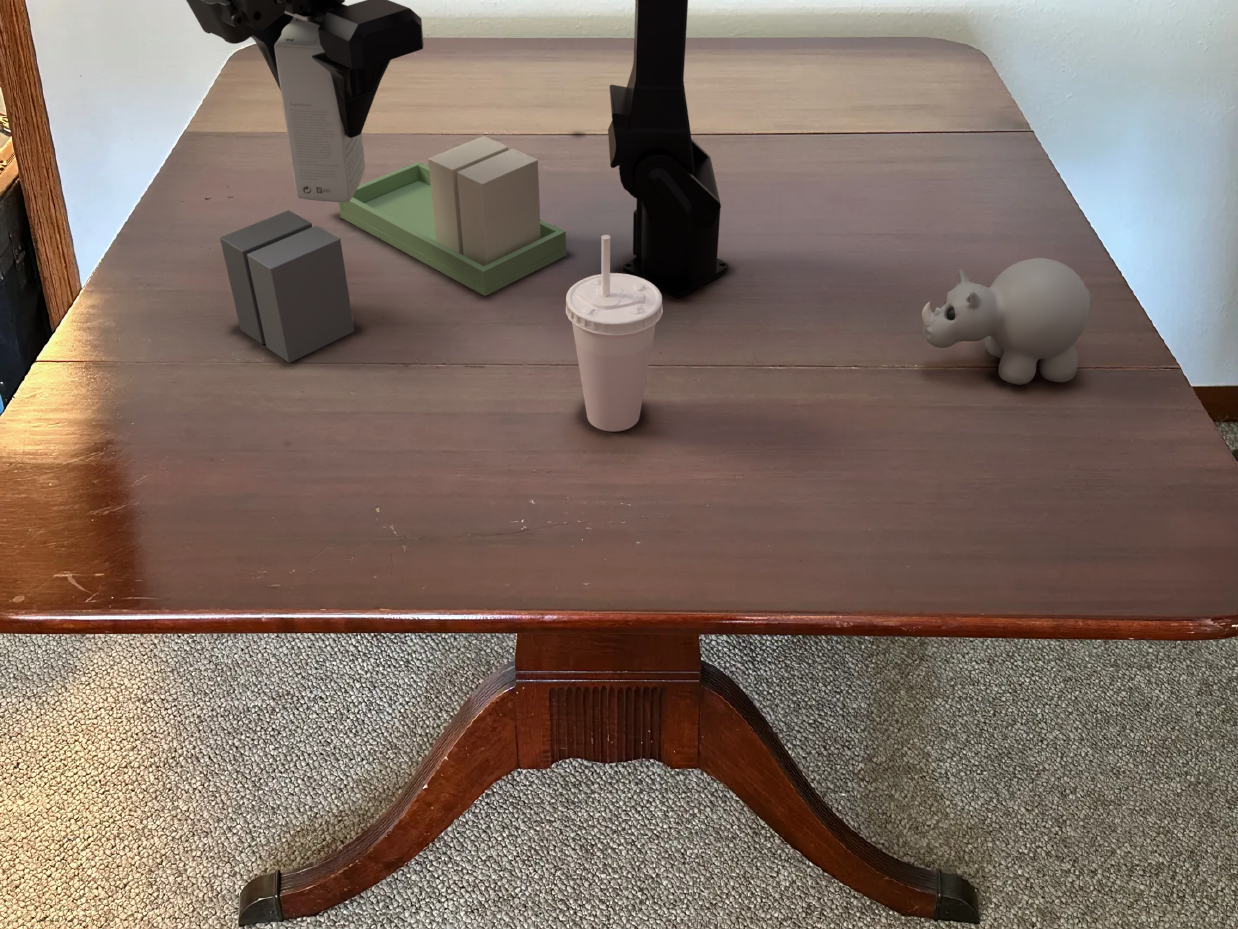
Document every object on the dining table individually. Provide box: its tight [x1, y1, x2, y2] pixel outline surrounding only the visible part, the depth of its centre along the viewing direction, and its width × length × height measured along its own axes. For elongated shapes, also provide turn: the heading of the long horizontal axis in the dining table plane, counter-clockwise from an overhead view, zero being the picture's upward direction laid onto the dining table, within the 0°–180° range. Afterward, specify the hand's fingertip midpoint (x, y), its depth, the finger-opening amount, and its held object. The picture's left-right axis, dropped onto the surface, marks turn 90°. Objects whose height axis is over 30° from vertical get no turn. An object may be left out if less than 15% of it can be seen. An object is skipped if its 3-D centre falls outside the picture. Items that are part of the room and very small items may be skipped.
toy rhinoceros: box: [921, 257, 1093, 385], centre depth 87 cm, size 7×12×8 cm, turn 92°
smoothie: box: [565, 234, 664, 432], centre depth 81 cm, size 6×6×14 cm
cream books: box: [427, 135, 541, 266], centre depth 99 cm, size 6×6×8 cm
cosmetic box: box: [274, 17, 366, 203], centre depth 90 cm, size 6×4×12 cm
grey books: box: [219, 209, 355, 364], centre depth 91 cm, size 6×6×8 cm
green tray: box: [338, 160, 567, 297], centre depth 104 cm, size 19×9×2 cm, turn 47°
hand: (324, 122), depth 91 cm, fingers closed on cosmetic box, 7 cm apart
